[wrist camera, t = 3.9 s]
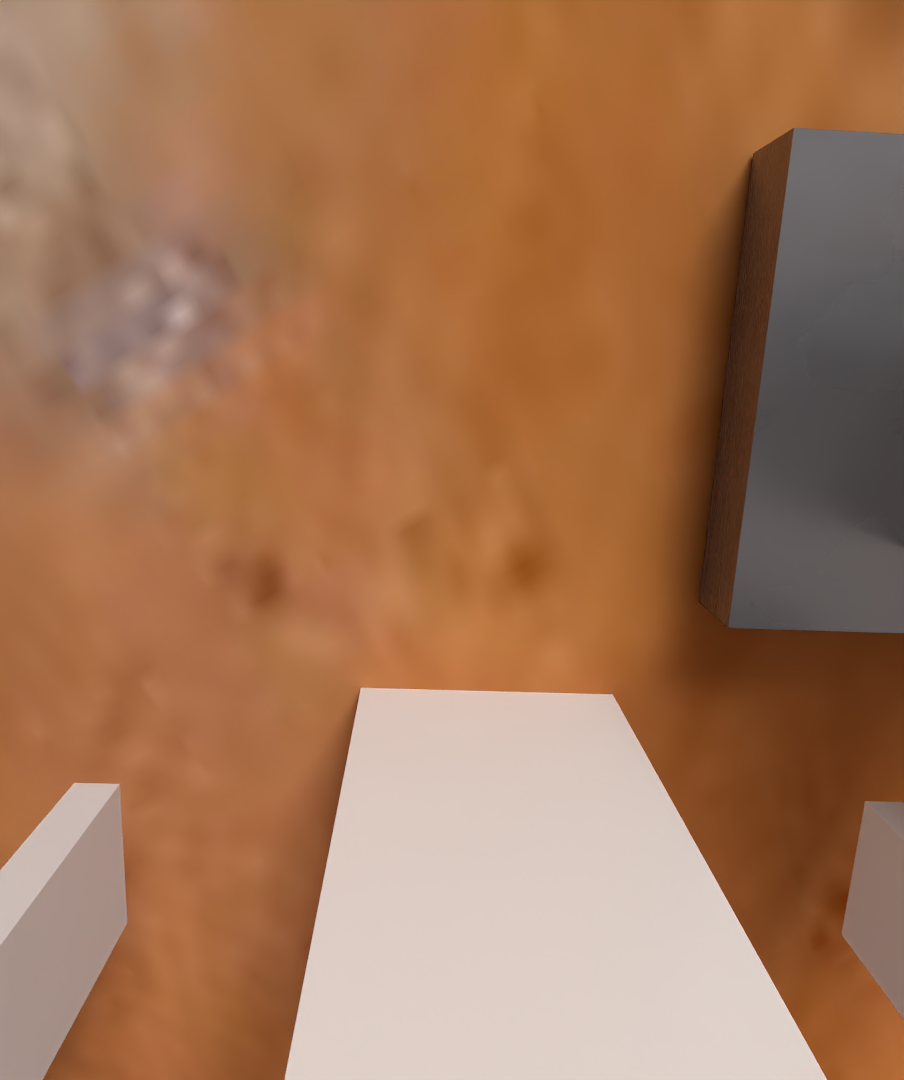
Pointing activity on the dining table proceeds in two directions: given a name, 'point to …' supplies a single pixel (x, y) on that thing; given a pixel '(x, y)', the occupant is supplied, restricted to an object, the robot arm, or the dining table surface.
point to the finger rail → (814, 394)
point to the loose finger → (524, 909)
